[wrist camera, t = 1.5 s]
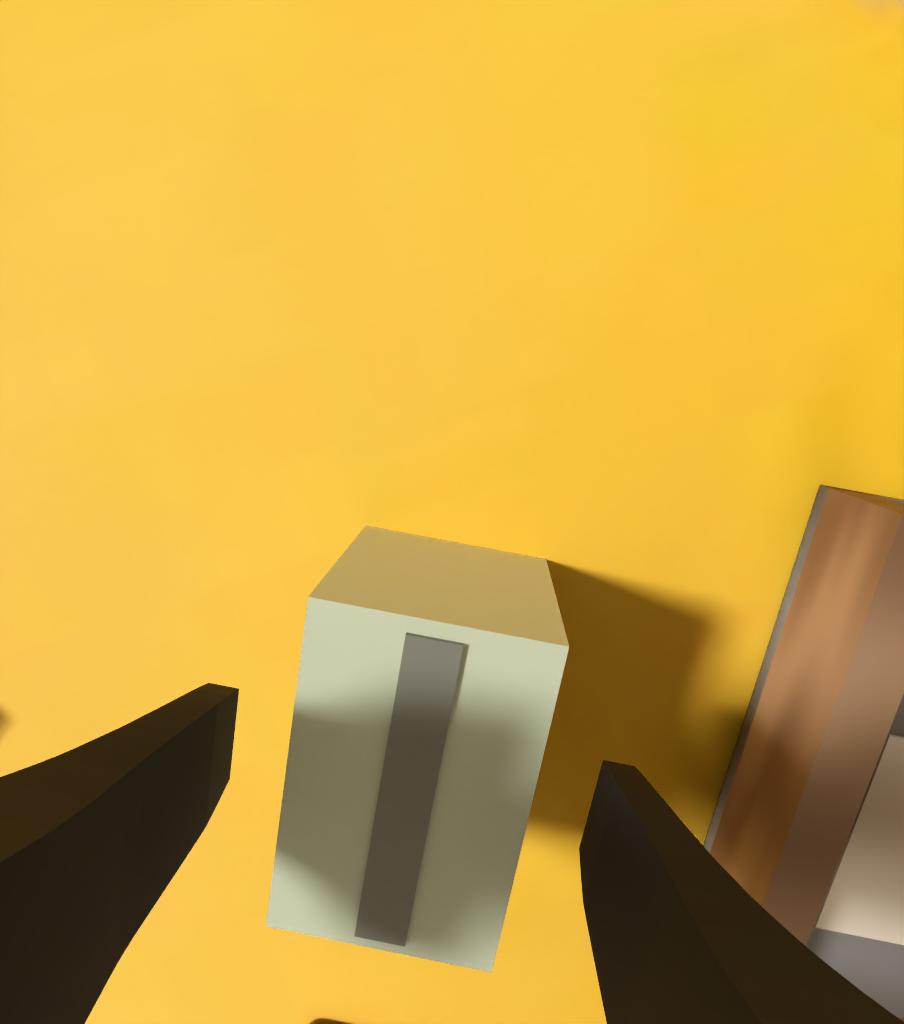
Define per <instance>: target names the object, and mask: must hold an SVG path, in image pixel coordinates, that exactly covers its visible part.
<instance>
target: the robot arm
mask: <svg viewBox="0 0 904 1024" xmlns="http://www.w3.org/2000/svg"><path fill="white" fill-rule="evenodd" d="M238 692H239V689H237V688H232V687H226V686H221V685H216V684H211V683H208V684H205V685H203V686H201V687H199V688H197V689H195V690H193V691H191V692H189V693H187V694H185V695H183V696H181V697H179V698H177V699H175V700H173V701H172V702H170V703H168V704H166V705H164V706H162V707H160V708H158V709H156V710H154V711H152V712H150V713H148V714H146V715H144V716H142V717H140V718H138V719H136V720H135V721H133V722H131V723H129V724H127V725H125V726H123V727H121V728H119V729H116V730H114V731H112V732H110V733H108V734H105V735H103V736H101V737H99V738H97V739H94V740H92V741H90V742H88V743H86V744H84V745H81V746H79V747H77V748H75V749H73V750H70V751H68V752H66V753H63V754H61V755H59V756H56V757H54V758H51V759H49V760H46V761H44V762H41V763H38V764H36V765H33V766H30V767H28V768H25V769H22V770H19V771H17V772H14V773H11V774H8V775H6V776H3V777H0V1024H84V1023H85V1022H86V1020H87V1018H88V1016H89V1014H90V1012H91V1011H92V1009H93V1007H94V1005H95V1003H96V1001H97V999H98V998H99V996H100V994H101V992H102V990H103V988H104V987H105V985H106V983H107V981H108V979H109V977H110V975H111V974H112V972H113V970H114V968H115V966H116V964H117V963H118V961H119V960H120V958H121V956H122V955H123V953H124V951H125V950H126V948H127V946H128V945H129V943H130V941H131V940H132V938H133V937H134V935H135V934H136V932H137V931H138V929H139V928H140V926H141V925H142V923H143V922H144V920H145V919H146V917H147V916H148V914H149V912H150V911H151V909H152V908H153V906H154V905H155V903H156V902H157V900H158V899H159V897H160V896H161V894H162V893H163V891H164V890H165V888H166V887H167V885H168V884H169V882H170V881H171V879H172V878H173V876H174V875H175V873H176V872H177V870H178V869H179V867H180V866H181V864H182V863H183V861H184V860H185V858H186V857H187V855H188V853H189V852H190V850H191V849H192V847H193V846H194V844H195V843H196V841H197V840H198V838H199V837H200V835H201V833H202V832H203V830H204V829H205V827H206V825H207V823H208V821H209V819H210V817H211V816H212V814H213V812H214V810H215V808H216V806H217V804H218V802H219V800H220V798H221V795H222V793H223V791H224V789H225V787H226V785H227V783H228V781H229V779H230V770H231V760H232V750H233V741H234V731H235V721H236V712H237V702H238ZM579 850H580V866H581V881H582V893H583V903H584V909H585V914H586V920H587V925H588V930H589V935H590V941H591V946H592V951H593V956H594V961H595V966H596V971H597V976H598V981H599V986H600V991H601V996H602V1001H603V1006H604V1011H605V1016H606V1021H607V1024H904V1022H903V1021H902V1020H900V1019H899V1018H897V1017H896V1016H895V1015H893V1014H892V1013H890V1012H889V1011H888V1010H886V1009H885V1008H884V1007H882V1006H881V1005H880V1004H878V1003H877V1002H876V1001H874V1000H873V999H872V998H870V997H869V996H867V995H866V994H865V993H863V992H862V991H861V990H860V989H858V988H857V987H856V986H854V985H853V984H852V983H851V982H849V981H848V980H847V979H846V978H844V977H843V976H842V975H841V974H839V973H838V972H837V971H836V970H834V969H833V968H832V967H831V966H829V965H828V964H827V963H826V962H824V961H823V960H822V959H820V958H819V957H818V956H817V955H816V954H815V953H813V952H812V951H811V950H810V949H809V948H807V947H806V946H805V945H804V944H803V943H801V942H800V941H799V940H798V939H797V938H796V937H795V936H794V935H792V934H791V933H790V932H789V931H788V930H787V929H786V928H785V927H784V926H783V925H781V924H780V923H779V922H778V921H777V920H776V919H775V918H774V917H773V916H771V915H770V914H769V913H768V912H767V911H766V910H765V909H764V908H763V907H762V906H761V905H760V904H759V903H758V902H757V901H755V900H754V899H753V898H752V897H751V896H750V895H749V894H748V893H747V892H746V891H745V890H744V889H743V888H742V887H741V886H740V885H739V884H738V882H737V881H736V880H735V879H734V878H733V877H732V876H731V875H730V874H729V873H728V872H727V871H726V870H725V869H724V868H723V867H722V866H721V865H720V864H719V863H718V862H717V861H716V860H715V858H714V857H713V856H712V855H711V854H710V853H709V852H708V851H707V850H706V849H705V847H704V846H703V845H702V844H701V843H700V842H699V841H698V840H697V839H696V837H695V836H694V835H693V834H692V833H691V832H690V830H689V829H688V828H687V827H686V826H685V825H684V824H683V822H682V821H681V820H680V819H679V818H678V817H677V815H676V814H675V813H674V812H673V811H672V809H671V808H670V807H669V806H668V805H667V803H666V802H665V801H664V800H663V799H662V797H661V796H660V795H659V794H658V793H657V792H656V790H655V789H654V788H653V787H652V786H651V784H650V783H649V782H648V781H647V780H646V778H645V777H644V776H643V775H642V774H641V773H640V772H639V771H638V770H637V768H636V767H635V766H630V765H625V764H620V763H615V762H610V761H604V760H603V763H602V766H601V770H600V774H599V778H598V781H597V785H596V789H595V792H594V796H593V800H592V803H591V807H590V811H589V815H588V818H587V822H586V826H585V829H584V833H583V837H582V841H581V844H580V848H579Z"/></svg>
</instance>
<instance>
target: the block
mask: <svg viewBox="0 0 904 1024" xmlns="http://www.w3.org/2000/svg"><path fill="white" fill-rule="evenodd" d="M568 650H569V643H568V640H567V636H566V632H565V628H564V625H563V621H562V617H561V613H560V609H559V606H558V602H557V598H556V594H555V590H554V587H553V583H552V579H551V575H550V572H549V568H548V564H547V560H546V559H541V558H536V557H531V556H525V555H520V554H515V553H509V552H504V551H499V550H493V549H488V548H483V547H477V546H472V545H467V544H461V543H456V542H451V541H445V540H440V539H435V538H429V537H424V536H419V535H413V534H408V533H403V532H397V531H392V530H387V529H381V528H376V527H371V526H365V528H364V529H363V530H362V531H361V532H360V534H359V535H358V536H357V537H356V539H355V540H354V541H353V542H352V544H351V545H350V546H349V547H348V548H347V550H346V551H345V552H344V553H343V555H342V556H341V557H340V558H339V560H338V561H337V562H336V563H335V565H334V566H333V567H332V568H331V569H330V571H329V572H328V573H327V574H326V576H325V577H324V578H323V579H322V581H321V582H320V583H319V584H318V585H317V587H316V588H315V589H314V590H313V592H312V593H311V594H310V595H309V597H308V603H307V611H306V619H305V627H304V634H303V642H302V650H301V658H300V666H299V673H298V681H297V689H296V697H295V705H294V712H293V720H292V728H291V736H290V744H289V751H288V759H287V767H286V775H285V783H284V790H283V798H282V806H281V814H280V822H279V829H278V837H277V845H276V853H275V861H274V869H273V876H272V884H271V892H270V900H269V908H268V915H267V923H266V926H268V927H273V928H277V929H282V930H287V931H292V932H297V933H302V934H307V935H312V936H316V937H321V938H326V939H331V940H336V941H341V942H346V943H350V944H355V945H360V946H365V947H370V948H375V949H380V950H385V951H389V952H394V953H399V954H404V955H409V956H414V957H419V958H424V959H428V960H433V961H438V962H443V963H448V964H453V965H458V966H463V967H467V968H472V969H477V970H482V971H487V972H492V968H493V964H494V960H495V956H496V952H497V947H498V943H499V939H500V935H501V931H502V926H503V922H504V918H505V914H506V910H507V906H508V901H509V897H510V893H511V889H512V885H513V880H514V876H515V872H516V868H517V864H518V860H519V855H520V851H521V847H522V843H523V839H524V834H525V830H526V826H527V822H528V818H529V814H530V809H531V805H532V801H533V797H534V793H535V788H536V784H537V780H538V776H539V772H540V767H541V763H542V759H543V755H544V751H545V747H546V742H547V738H548V734H549V730H550V726H551V721H552V717H553V713H554V709H555V705H556V701H557V696H558V692H559V688H560V684H561V680H562V675H563V671H564V667H565V663H566V659H567V655H568Z"/></svg>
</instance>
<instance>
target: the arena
mask: <svg viewBox="0 0 904 1024" xmlns="http://www.w3.org/2000/svg"><path fill="white" fill-rule="evenodd" d="M704 847H705V849H706V850H707V851H708V852H709V853H710V854H711V855H712V856H713V857H714V858H715V860H716V861H717V862H718V863H719V864H720V865H721V866H722V867H723V868H724V869H725V870H726V871H727V872H728V873H729V874H730V875H731V876H732V877H733V878H734V879H735V880H736V881H737V882H738V884H739V885H740V886H741V887H742V888H743V889H744V890H745V891H746V892H747V893H748V894H749V895H750V896H751V897H752V898H753V899H754V900H755V901H757V902H758V903H759V904H760V905H761V906H762V907H763V908H764V909H765V910H766V911H767V912H768V913H769V914H770V915H771V916H773V917H774V918H775V919H776V920H777V921H778V922H779V923H780V924H781V925H783V926H784V927H785V928H786V929H787V930H788V931H789V932H790V933H791V934H792V935H794V936H795V937H796V938H797V939H798V940H799V941H800V942H801V943H803V944H804V945H805V946H806V947H807V948H809V949H810V950H811V951H812V952H813V953H815V954H816V955H817V956H818V957H819V958H820V959H822V960H823V961H824V962H826V963H827V964H828V965H829V966H831V967H832V968H833V969H834V970H836V971H837V972H838V973H839V974H841V975H842V976H843V977H844V978H846V979H847V980H848V981H849V982H851V983H852V984H853V985H854V986H856V987H857V988H858V989H860V990H861V991H862V992H863V993H865V994H866V995H867V996H869V997H870V998H872V999H873V1000H874V1001H876V1002H877V1003H878V1004H880V1005H881V1006H882V1007H884V1008H885V1009H886V1010H888V1011H889V1012H890V1013H892V1014H893V1015H895V1016H896V1017H897V1018H899V1019H900V1020H902V1021H903V1022H904V500H901V499H895V498H890V497H884V496H879V495H873V494H868V493H863V492H857V491H852V490H846V489H841V488H835V487H830V486H825V485H820V486H819V489H818V492H817V495H816V499H815V502H814V505H813V508H812V511H811V514H810V517H809V520H808V523H807V526H806V530H805V533H804V536H803V539H802V542H801V545H800V548H799V551H798V554H797V557H796V561H795V564H794V567H793V570H792V573H791V576H790V579H789V582H788V585H787V588H786V592H785V595H784V598H783V601H782V604H781V607H780V610H779V613H778V616H777V619H776V622H775V626H774V629H773V632H772V635H771V638H770V641H769V644H768V647H767V650H766V653H765V657H764V660H763V663H762V666H761V669H760V672H759V675H758V678H757V681H756V684H755V688H754V691H753V694H752V697H751V700H750V703H749V706H748V709H747V712H746V715H745V719H744V722H743V725H742V728H741V731H740V734H739V737H738V740H737V743H736V746H735V750H734V753H733V756H732V759H731V762H730V765H729V768H728V771H727V774H726V777H725V780H724V784H723V787H722V790H721V793H720V796H719V799H718V802H717V805H716V808H715V811H714V815H713V818H712V821H711V824H710V827H709V830H708V833H707V836H706V839H705V842H704Z"/></svg>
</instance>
